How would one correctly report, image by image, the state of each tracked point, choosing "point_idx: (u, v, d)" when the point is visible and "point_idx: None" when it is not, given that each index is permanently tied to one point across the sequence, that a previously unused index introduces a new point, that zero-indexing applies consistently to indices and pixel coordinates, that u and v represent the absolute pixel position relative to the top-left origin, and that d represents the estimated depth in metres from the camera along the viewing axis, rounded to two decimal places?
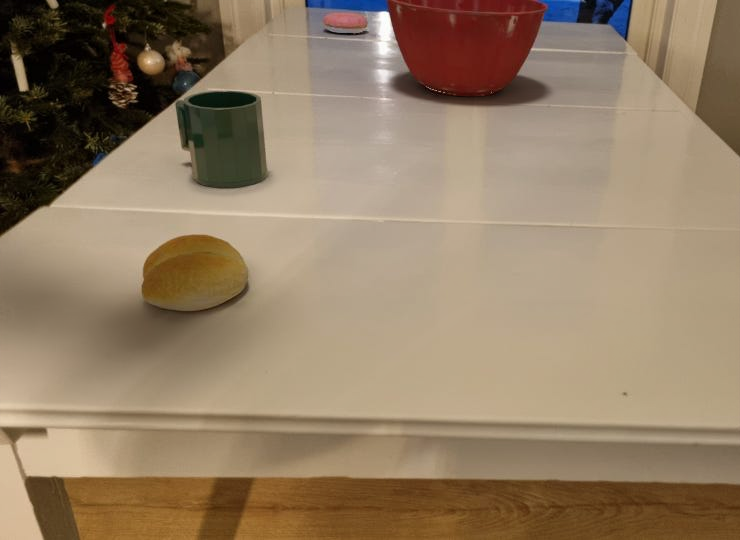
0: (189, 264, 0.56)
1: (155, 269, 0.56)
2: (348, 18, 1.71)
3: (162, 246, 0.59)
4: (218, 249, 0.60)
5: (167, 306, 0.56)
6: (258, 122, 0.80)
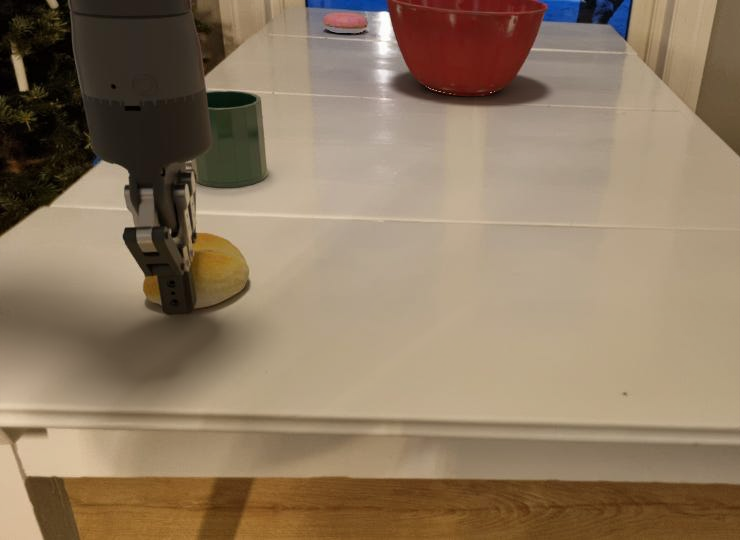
0: None
1: None
2: (348, 18, 1.71)
3: None
4: (219, 248, 0.60)
5: None
6: (258, 122, 0.80)
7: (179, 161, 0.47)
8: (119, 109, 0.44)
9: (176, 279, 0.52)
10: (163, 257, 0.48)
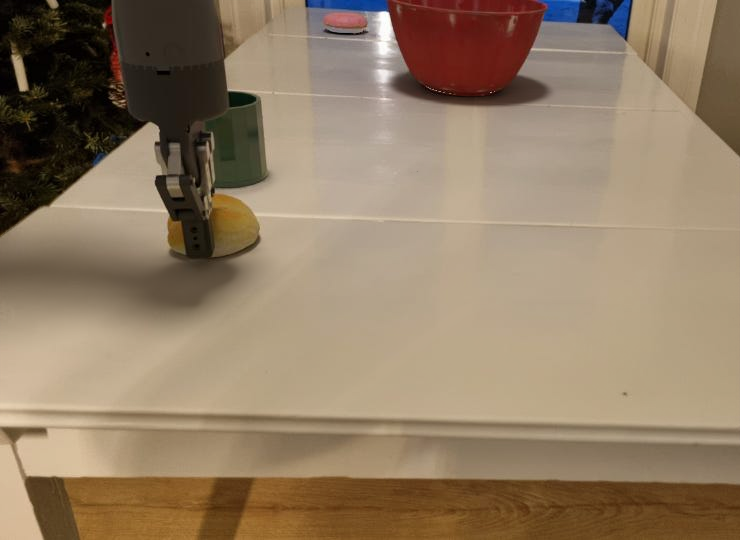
0: None
1: (179, 221, 0.65)
2: (348, 18, 1.71)
3: None
4: (233, 206, 0.68)
5: None
6: (258, 122, 0.80)
7: (202, 119, 0.55)
8: (152, 73, 0.52)
9: (198, 225, 0.60)
10: (188, 202, 0.56)
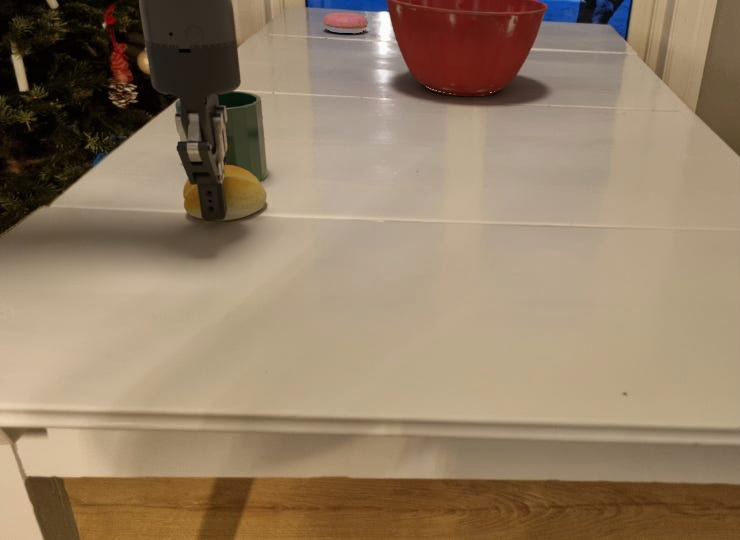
0: None
1: (195, 187, 0.72)
2: (348, 18, 1.71)
3: None
4: (242, 175, 0.76)
5: None
6: (258, 122, 0.80)
7: (217, 93, 0.62)
8: (174, 51, 0.59)
9: (212, 189, 0.67)
10: (205, 166, 0.63)
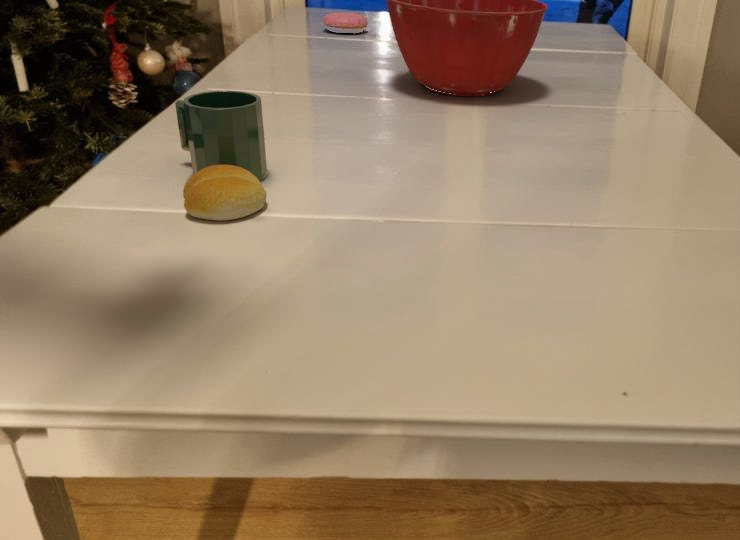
0: (222, 183, 0.72)
1: (195, 187, 0.72)
2: (348, 18, 1.71)
3: (198, 172, 0.75)
4: (242, 175, 0.76)
5: (205, 216, 0.72)
6: (258, 122, 0.80)
7: None
8: None
9: None
10: None
